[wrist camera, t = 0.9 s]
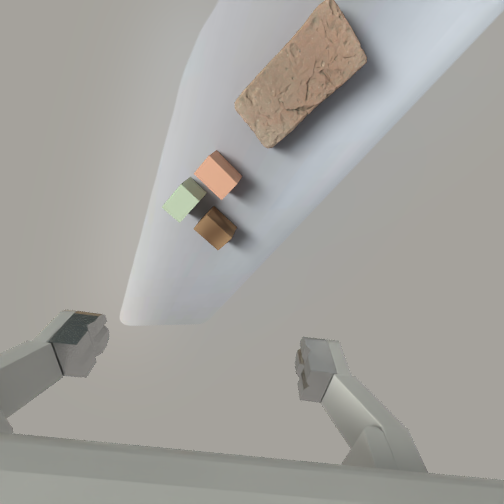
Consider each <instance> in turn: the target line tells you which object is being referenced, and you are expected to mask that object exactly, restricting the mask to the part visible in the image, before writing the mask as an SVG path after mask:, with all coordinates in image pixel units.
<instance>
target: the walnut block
mask: <svg viewBox="0 0 504 504" xmlns="http://www.w3.org/2000/svg"><path fill="white" fill-rule="evenodd" d="M236 228H237V227H236V226H235V225H234V224H233V223H232V222H231V221H229V220H228V219H227V218H226V217H225V216H224V215H223V214H222V213H221V212H220V211H219V210H218V209H217V208H216V207H215V206H213V207H212V208H211V209H210V210H209V211H208V212H207V213H206V214H205V215H204V216H203V218H202V219H201V220H200V221H199V222H198V224H197V225H196V226H195V228H194V230H195V231H197V232H198V233H199V234H200V235H201V236H202V237H203V238H205V239H206V240H207V241H208V242H209V243H210V244H211V245H213V246H214V247H215V248H216V249H217V250H219V249H220V248H221V247H223V246H224V245H225V244H226V243H227V242H228V241H229V240H230V239H232V237H233V235H234V233H235V230H236Z"/></svg>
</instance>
